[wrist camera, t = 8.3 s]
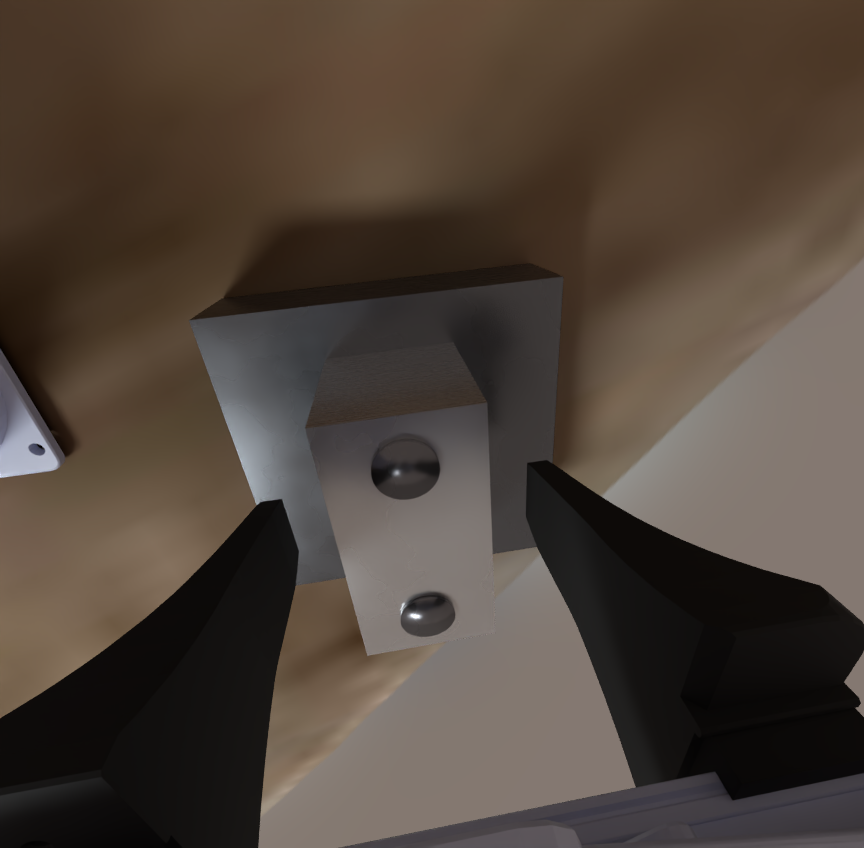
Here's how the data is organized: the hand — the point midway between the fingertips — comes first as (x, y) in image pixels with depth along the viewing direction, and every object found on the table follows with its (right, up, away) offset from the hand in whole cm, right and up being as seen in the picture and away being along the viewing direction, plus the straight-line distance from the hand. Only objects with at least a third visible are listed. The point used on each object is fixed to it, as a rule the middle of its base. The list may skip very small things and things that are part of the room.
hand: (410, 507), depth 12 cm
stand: (-1, +3, +5) cm, 6 cm away
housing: (0, +1, +3) cm, 3 cm away
